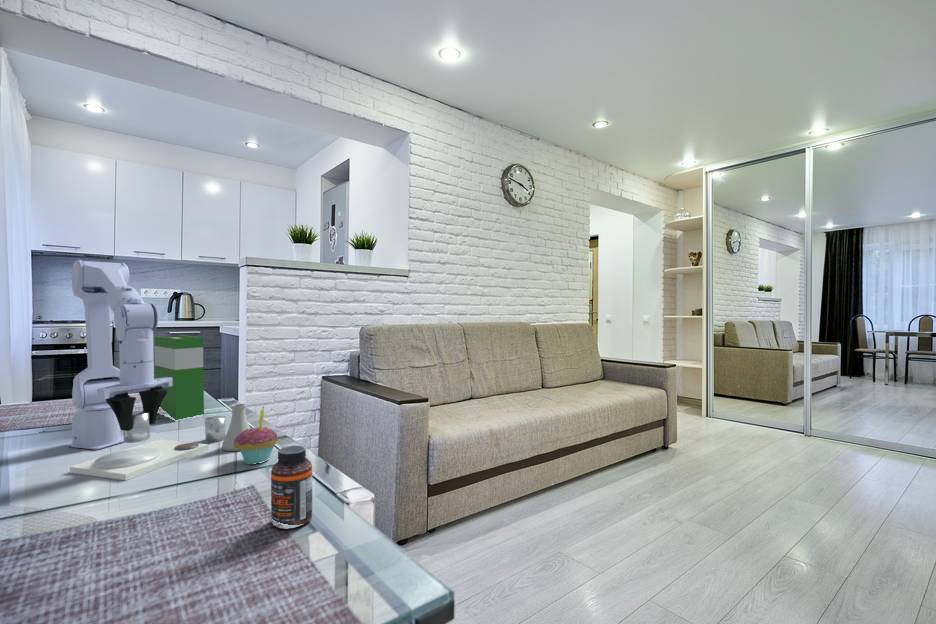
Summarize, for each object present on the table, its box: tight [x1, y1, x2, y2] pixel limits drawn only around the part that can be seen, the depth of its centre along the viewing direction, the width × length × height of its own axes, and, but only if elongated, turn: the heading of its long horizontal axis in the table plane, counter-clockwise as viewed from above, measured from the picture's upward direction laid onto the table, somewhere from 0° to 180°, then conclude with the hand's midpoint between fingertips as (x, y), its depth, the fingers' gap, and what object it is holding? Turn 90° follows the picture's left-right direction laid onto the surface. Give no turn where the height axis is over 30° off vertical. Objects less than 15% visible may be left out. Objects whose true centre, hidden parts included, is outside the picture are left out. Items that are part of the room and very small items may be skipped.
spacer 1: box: [123, 410, 151, 444], centre depth 94 cm, size 4×4×6 cm
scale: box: [69, 438, 209, 481], centre depth 97 cm, size 15×19×2 cm
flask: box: [220, 403, 251, 452], centre depth 106 cm, size 7×7×10 cm
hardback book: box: [153, 334, 205, 420], centre depth 138 cm, size 18×7×24 cm, turn 51°
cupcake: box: [234, 406, 279, 465], centre depth 96 cm, size 9×8×12 cm
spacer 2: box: [204, 415, 227, 444], centre depth 112 cm, size 4×4×6 cm
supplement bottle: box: [270, 445, 313, 525], centre depth 69 cm, size 6×6×11 cm
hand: (138, 426), depth 94 cm, fingers closed on spacer 1, 4 cm apart
